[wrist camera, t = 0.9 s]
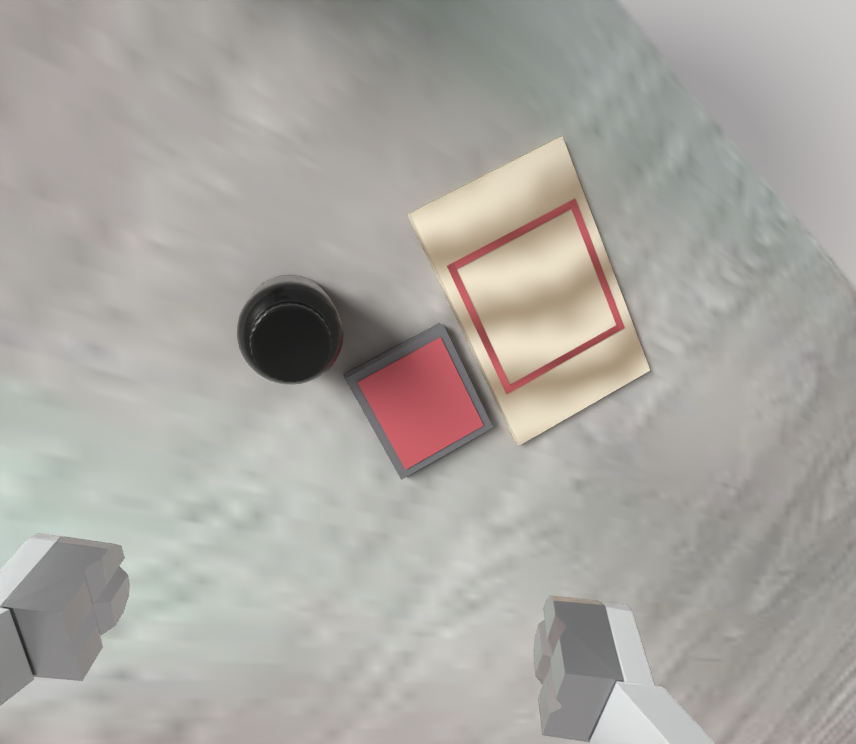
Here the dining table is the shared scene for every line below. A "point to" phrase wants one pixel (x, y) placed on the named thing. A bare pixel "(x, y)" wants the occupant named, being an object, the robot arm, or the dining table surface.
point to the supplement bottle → (290, 330)
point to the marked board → (532, 289)
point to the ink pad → (419, 400)
